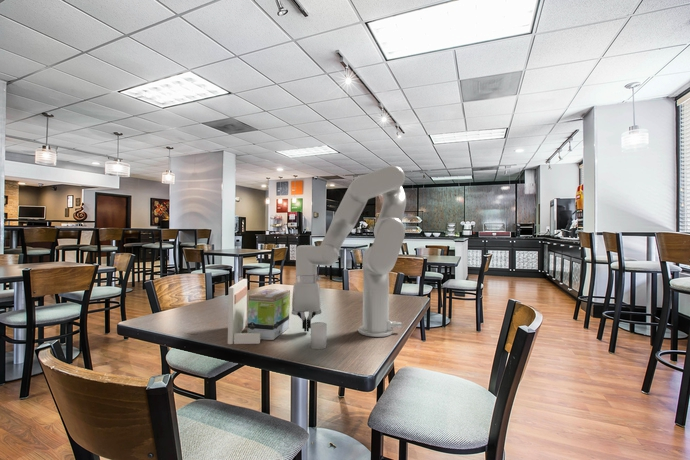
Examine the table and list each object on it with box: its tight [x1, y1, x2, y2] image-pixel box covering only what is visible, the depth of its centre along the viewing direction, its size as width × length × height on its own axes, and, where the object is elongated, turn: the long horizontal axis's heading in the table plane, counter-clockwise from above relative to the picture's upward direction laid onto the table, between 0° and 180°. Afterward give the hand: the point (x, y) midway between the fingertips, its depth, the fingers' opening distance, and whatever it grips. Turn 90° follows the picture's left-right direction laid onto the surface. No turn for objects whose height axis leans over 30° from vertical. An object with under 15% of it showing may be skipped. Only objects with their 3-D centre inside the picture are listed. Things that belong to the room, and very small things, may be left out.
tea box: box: [246, 288, 291, 341], centre depth 116 cm, size 15×10×15 cm
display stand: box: [227, 278, 261, 345], centre depth 115 cm, size 10×21×18 cm, turn 5°
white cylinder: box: [310, 321, 328, 350], centre depth 103 cm, size 5×5×7 cm
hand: (306, 330), depth 117 cm, fingers closed
